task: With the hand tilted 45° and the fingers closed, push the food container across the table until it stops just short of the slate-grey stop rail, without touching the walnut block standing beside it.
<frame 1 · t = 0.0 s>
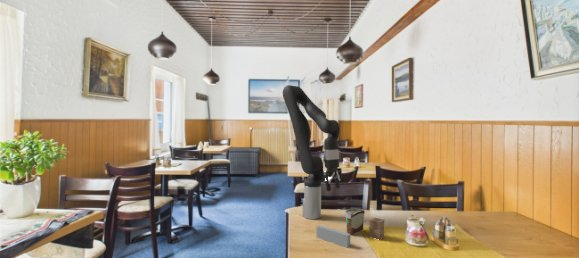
hand: (333, 189, 154), 17 cm above the table, tool pointing down, fingers open, 8 cm apart
walnut block: (376, 237, 135), on the table
stop rail: (332, 241, 130), on the table
food container: (352, 231, 142), on the table
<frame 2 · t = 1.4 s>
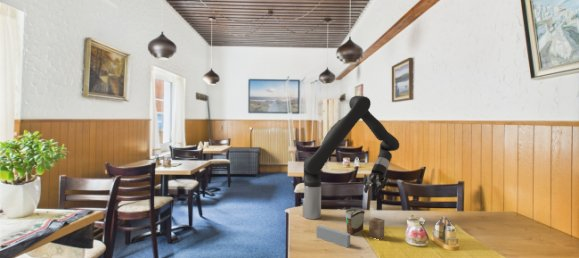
hand: (370, 192, 155), 15 cm above the table, tool tilted 45°, fingers open, 5 cm apart
nothing on the table moved.
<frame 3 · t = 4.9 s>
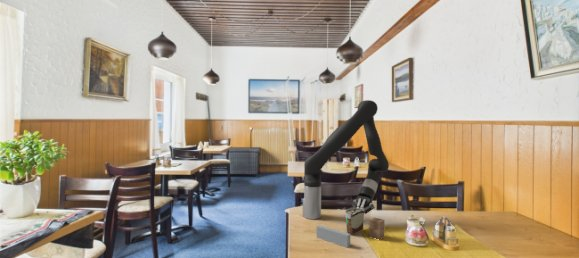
hand: (356, 219, 145), 5 cm above the table, tool tilted 45°, fingers closed
food container: (352, 231, 142), on the table, touching gripper
everything else where it was.
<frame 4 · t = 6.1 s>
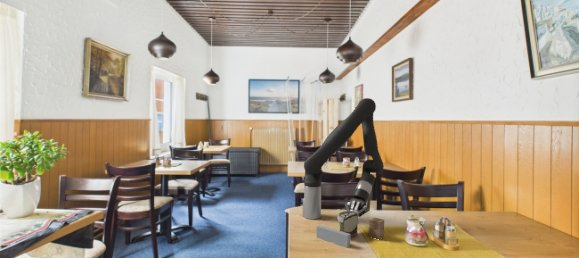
hand: (350, 222, 140), 5 cm above the table, tool tilted 45°, fingers closed
food container: (345, 235, 137), on the table, touching gripper
everything else where it was.
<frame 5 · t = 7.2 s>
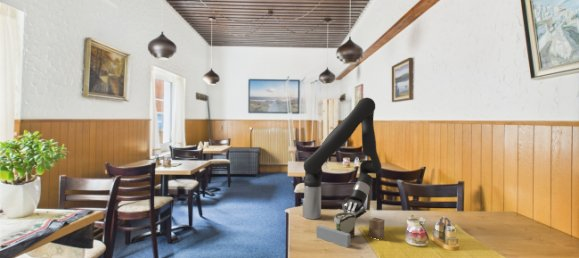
hand: (347, 224, 138), 5 cm above the table, tool tilted 45°, fingers closed
food container: (342, 236, 135), on the table, touching gripper
everything else where it was.
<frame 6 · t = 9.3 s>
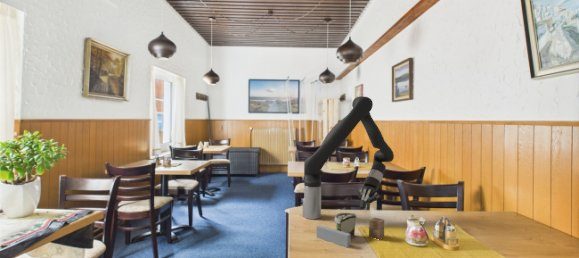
hand: (361, 208, 150), 9 cm above the table, tool tilted 45°, fingers closed
food container: (342, 237, 135), on the table
everything else where it was.
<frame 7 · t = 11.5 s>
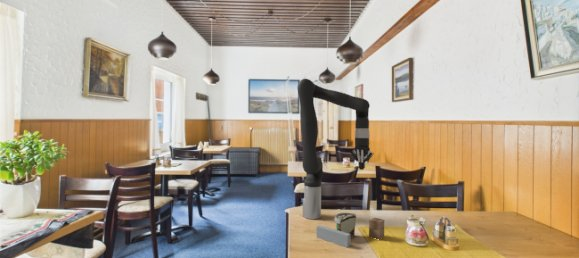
hand: (361, 169, 158), 27 cm above the table, tool pointing down, fingers closed
nothing on the table moved.
at the end: food container 0.5 cm from the target spot, on the table; food container tilted 0°; walnut block moved 0.1 cm from its start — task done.
